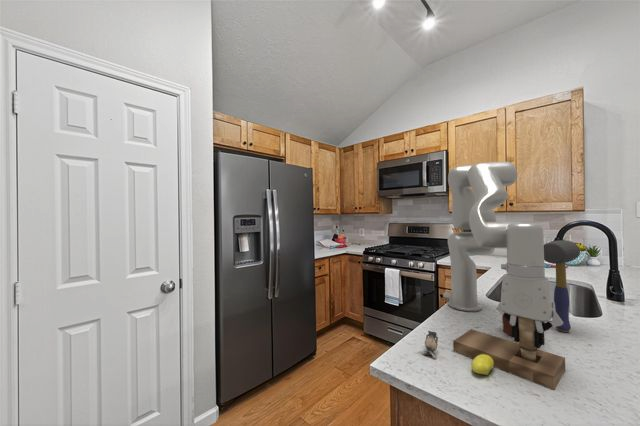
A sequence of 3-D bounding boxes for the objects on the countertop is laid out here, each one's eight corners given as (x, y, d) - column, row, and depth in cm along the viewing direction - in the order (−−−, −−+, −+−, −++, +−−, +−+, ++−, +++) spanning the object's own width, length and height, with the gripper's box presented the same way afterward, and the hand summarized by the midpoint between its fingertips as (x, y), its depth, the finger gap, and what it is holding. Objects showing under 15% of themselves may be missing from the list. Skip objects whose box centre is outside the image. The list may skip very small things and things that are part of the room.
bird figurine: (425, 346, 79) (426, 326, 79) (443, 354, 75) (445, 333, 75) (417, 353, 75) (418, 332, 75) (436, 361, 71) (437, 340, 71)
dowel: (517, 357, 67) (516, 313, 67) (522, 352, 69) (520, 310, 69) (535, 363, 64) (533, 318, 64) (539, 358, 66) (537, 314, 66)
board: (453, 351, 75) (453, 340, 76) (471, 338, 83) (471, 329, 83) (554, 389, 58) (553, 376, 58) (565, 369, 66) (564, 357, 66)
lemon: (499, 370, 66) (498, 354, 66) (483, 381, 62) (483, 365, 62) (481, 362, 70) (481, 348, 70) (465, 373, 65) (465, 357, 65)
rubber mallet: (569, 340, 80) (566, 242, 81) (540, 331, 87) (537, 240, 87) (585, 330, 86) (582, 240, 87) (556, 322, 93) (553, 238, 93)
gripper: (483, 268, 71) (485, 336, 71) (566, 279, 58) (569, 362, 58) (494, 265, 76) (496, 329, 75) (572, 274, 63) (575, 351, 62)
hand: (528, 342), depth 67 cm, fingers closed on dowel, 3 cm apart
